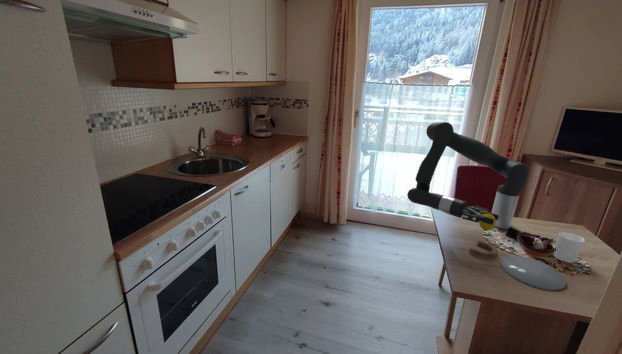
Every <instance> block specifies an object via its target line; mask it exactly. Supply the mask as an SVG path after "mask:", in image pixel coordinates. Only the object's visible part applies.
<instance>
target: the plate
mask: <svg viewBox="0 0 622 354" xmlns="http://www.w3.org/2000/svg"><path fill="white" fill-rule="evenodd" d="M499 265H500V268H501V269H502V270H503V271H504V272H505V273H506V274H507V275H509V276H510V277H512V278H513V279H515V280H517V281H518V282H521V283H523V284H524V285H528V286H531V287H534V288H537V289H541V290H546V291H560V290H563V289H565V288H566V286H567V280H566V278H565V276H564V275H563V274H562V273H561V272H560V271H558V270H557V269H555V268H554V267H552V266H551V265H548V264H546V263H544V262H542V261H540V260H536V259H534V258H531V257H527V256H522V255H517V254H515V255H513V254H511V255H510V254H508V255H504V256H501V258H500V260H499Z"/></svg>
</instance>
